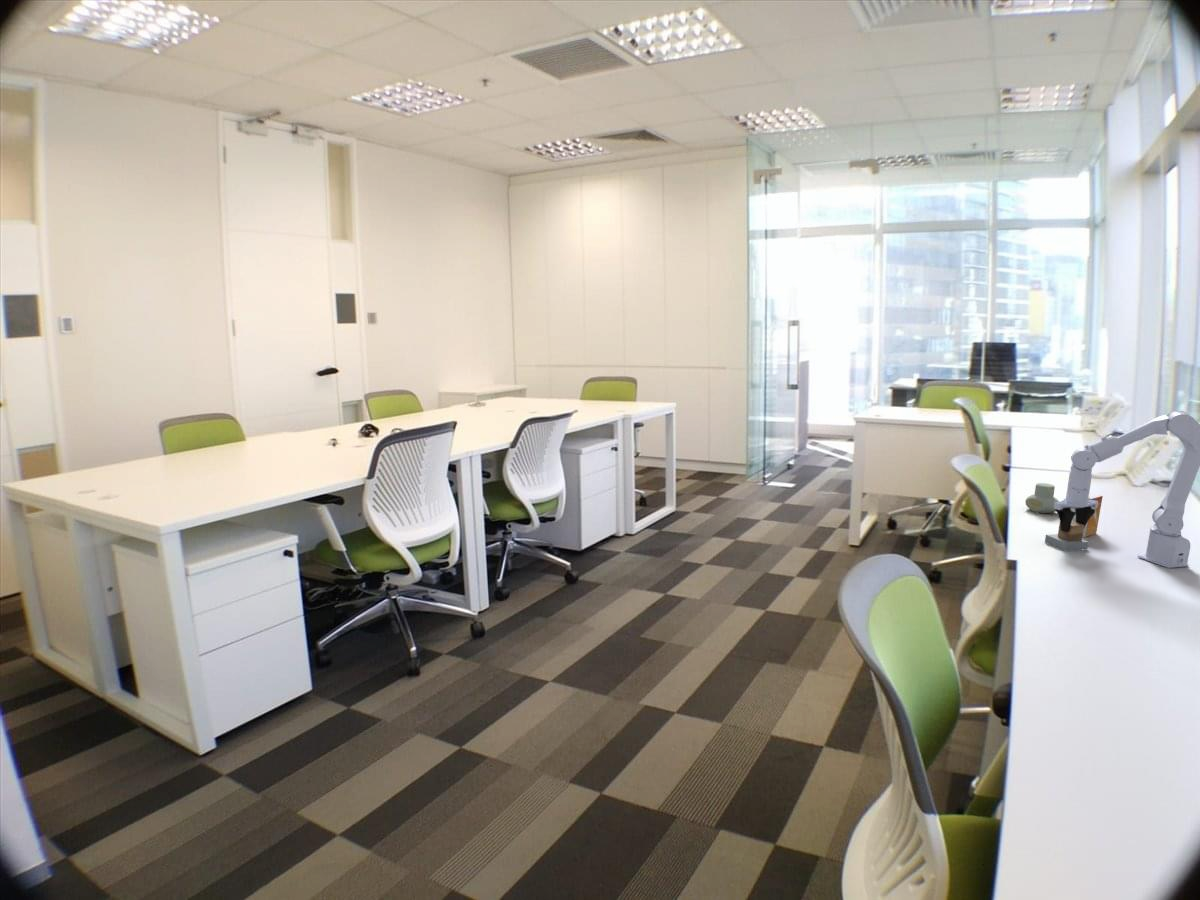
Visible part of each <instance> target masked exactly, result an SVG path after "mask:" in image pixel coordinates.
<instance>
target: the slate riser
mask: <svg viewBox="0 0 1200 900" xmlns="http://www.w3.org/2000/svg"><path fill="white" fill-rule="evenodd" d="M1044 538H1045V539H1044V543H1045V544H1047V543H1048V544H1047V545H1050V546H1052V547H1054V546H1055V548H1057V549H1059V550H1061V549H1062V551H1064V550H1065V551H1064V552H1067V551H1066V550H1073V551H1083V550H1082V549H1089V541H1088V540H1084V539H1083V538H1082V541H1067V540H1065V539H1062V538H1059V537H1058V533H1057V534H1055V533H1054V534H1053V533H1052V534H1046V535H1045V536H1044Z"/></svg>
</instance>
